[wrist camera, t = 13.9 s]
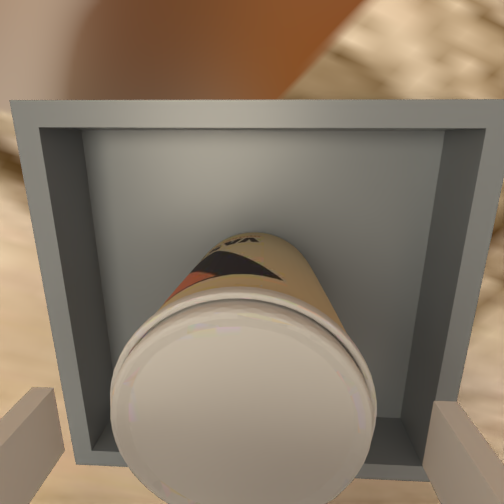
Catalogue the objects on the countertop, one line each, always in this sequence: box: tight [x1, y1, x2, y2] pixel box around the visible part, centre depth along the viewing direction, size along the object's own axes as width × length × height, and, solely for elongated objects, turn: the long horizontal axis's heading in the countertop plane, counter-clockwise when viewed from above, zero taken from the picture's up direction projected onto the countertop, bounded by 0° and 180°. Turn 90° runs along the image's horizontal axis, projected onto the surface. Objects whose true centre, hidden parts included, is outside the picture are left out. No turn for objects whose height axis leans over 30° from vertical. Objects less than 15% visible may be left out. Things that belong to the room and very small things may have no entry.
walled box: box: [10, 99, 504, 482], centre depth 22 cm, size 22×23×5 cm
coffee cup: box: [110, 232, 377, 504], centre depth 17 cm, size 9×9×12 cm
